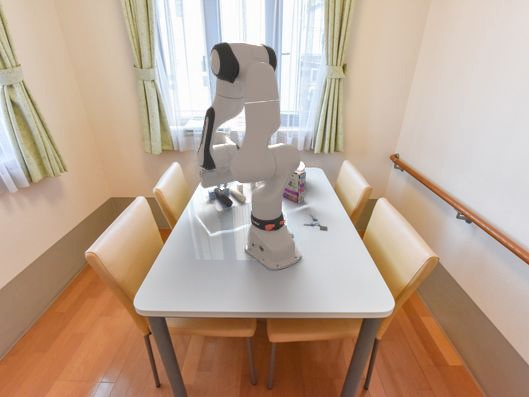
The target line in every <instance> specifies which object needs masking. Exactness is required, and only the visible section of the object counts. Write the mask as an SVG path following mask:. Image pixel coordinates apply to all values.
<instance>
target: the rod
mask: <svg viewBox="0 0 529 397" xmlns="http://www.w3.org/2000/svg"><path fill="white" fill-rule="evenodd" d="M228 187H229V191H230V192H231V193H232V194H233V195H234V196H235V197H236V198H237V199H238V200H240V201H241V202H245V201H246V197H245V196H244V195H242V194H241V193H240V192H239V191H238V190H236V189H237V188H235V187H234V186H228Z"/></svg>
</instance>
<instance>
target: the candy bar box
mask: <svg viewBox="0 0 529 397" xmlns="http://www.w3.org/2000/svg"><path fill="white" fill-rule="evenodd" d="M306 175H307V172H306V171H305V170H304V171H301V170H298V169H297V170H296V171H295V172H294V173H293V174H292V175H291V177H290V179H289V180H288V182H287V185H286V187H285V190H284V193H283V198H286V199H288V200H290V201H292V202H293V203H296V204H299V203H301V202H304V201H305V200H304V199H305V187H306Z"/></svg>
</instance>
